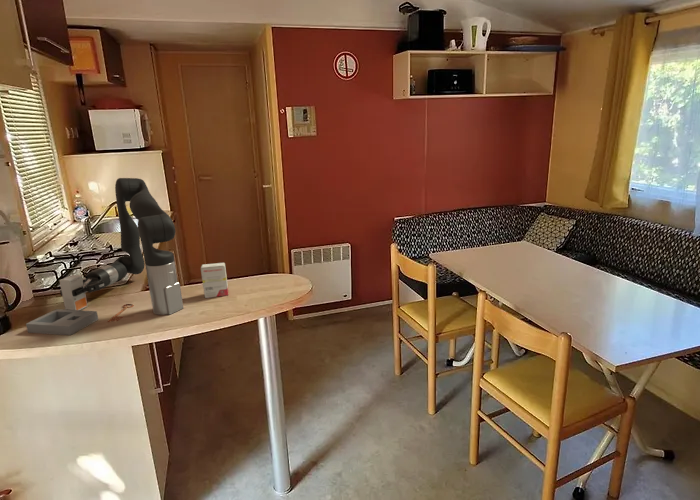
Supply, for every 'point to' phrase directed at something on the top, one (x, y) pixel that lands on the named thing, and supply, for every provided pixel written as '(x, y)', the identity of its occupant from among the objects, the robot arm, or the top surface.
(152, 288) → the robot arm
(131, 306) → the key
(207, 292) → the ink box
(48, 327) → the holder
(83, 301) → the skincare box
